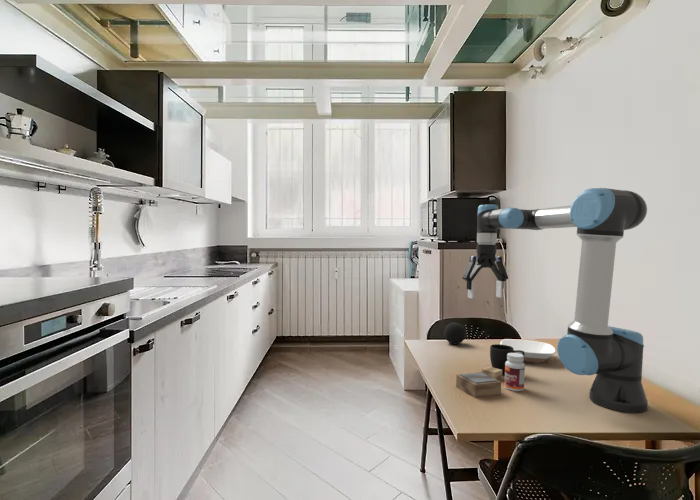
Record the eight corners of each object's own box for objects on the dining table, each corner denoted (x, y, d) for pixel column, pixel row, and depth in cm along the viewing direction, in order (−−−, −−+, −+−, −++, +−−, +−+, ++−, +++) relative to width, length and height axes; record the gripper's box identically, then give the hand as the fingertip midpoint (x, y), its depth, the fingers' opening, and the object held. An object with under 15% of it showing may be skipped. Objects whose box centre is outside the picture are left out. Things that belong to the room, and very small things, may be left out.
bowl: (558, 368, 165) (559, 355, 165) (499, 362, 172) (500, 349, 172) (551, 354, 185) (552, 342, 185) (499, 349, 192) (499, 337, 192)
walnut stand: (500, 394, 135) (501, 380, 135) (475, 397, 132) (475, 383, 132) (480, 383, 145) (481, 371, 145) (456, 386, 141) (456, 373, 141)
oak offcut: (502, 378, 151) (502, 369, 151) (494, 381, 148) (494, 372, 148) (489, 374, 155) (489, 366, 155) (481, 377, 152) (482, 368, 151)
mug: (523, 378, 151) (524, 352, 151) (488, 373, 156) (489, 348, 156) (523, 372, 159) (524, 347, 158) (490, 367, 163) (491, 343, 163)
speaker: (439, 343, 200) (440, 322, 200) (451, 340, 207) (452, 319, 207) (457, 347, 193) (458, 325, 193) (469, 344, 200) (470, 323, 199)
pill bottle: (500, 387, 141) (502, 354, 141) (509, 383, 145) (510, 351, 145) (518, 393, 137) (520, 358, 136) (527, 388, 141) (528, 355, 141)
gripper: (505, 244, 175) (503, 295, 175) (454, 243, 166) (452, 297, 167) (518, 244, 168) (516, 298, 168) (465, 243, 159) (464, 299, 160)
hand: (485, 297), depth 167 cm, fingers open, 13 cm apart
